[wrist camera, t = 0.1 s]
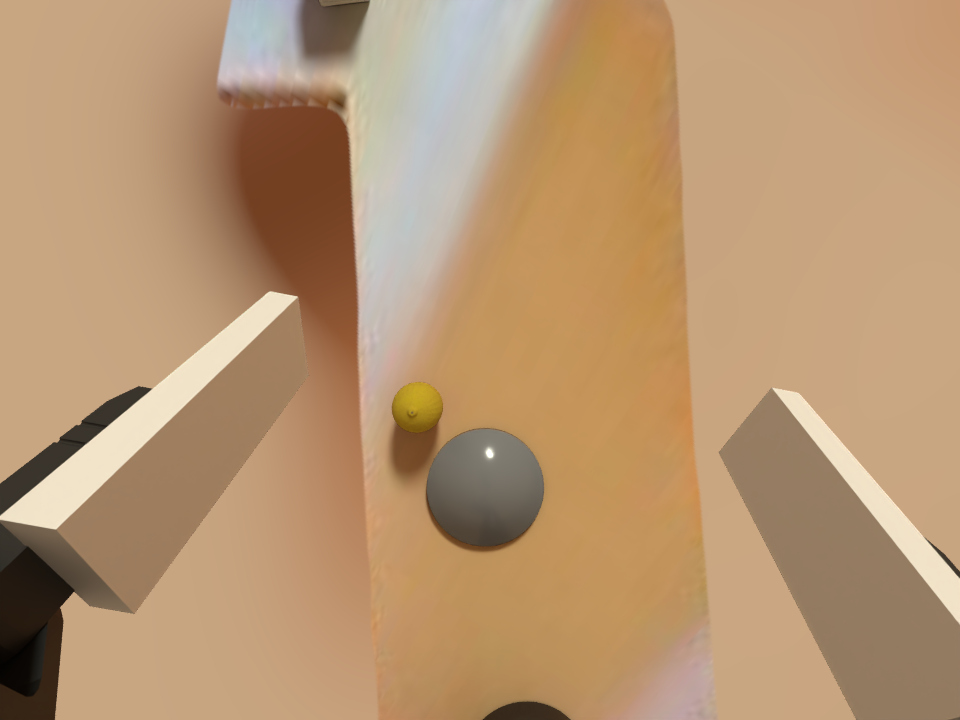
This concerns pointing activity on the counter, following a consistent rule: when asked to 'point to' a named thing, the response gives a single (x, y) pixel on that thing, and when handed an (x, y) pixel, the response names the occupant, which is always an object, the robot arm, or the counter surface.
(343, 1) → the product box
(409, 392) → the lemon
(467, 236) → the counter surface
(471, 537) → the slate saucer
